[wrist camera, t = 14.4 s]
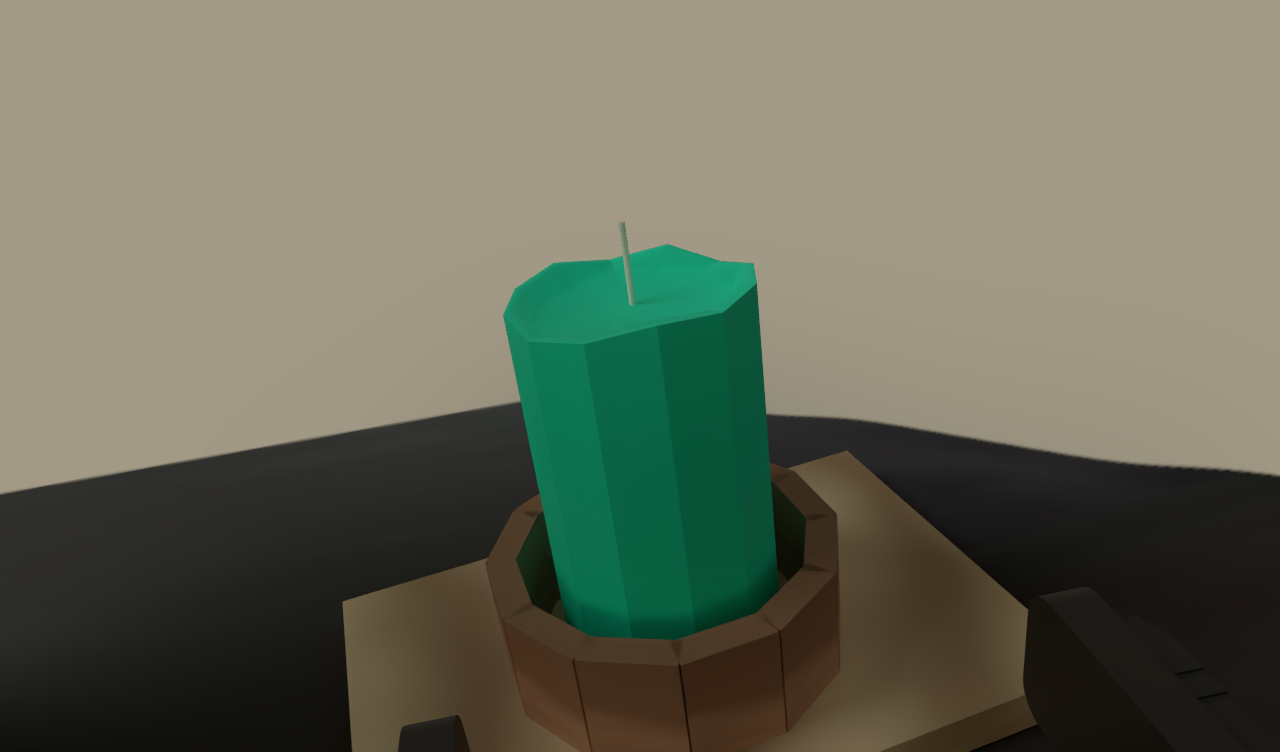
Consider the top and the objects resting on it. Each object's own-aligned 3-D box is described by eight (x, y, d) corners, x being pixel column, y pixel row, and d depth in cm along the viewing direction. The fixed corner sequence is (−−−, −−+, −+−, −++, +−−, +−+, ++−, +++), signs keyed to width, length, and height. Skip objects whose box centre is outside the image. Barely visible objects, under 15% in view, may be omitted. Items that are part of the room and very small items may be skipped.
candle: (817, 681, 24) (794, 234, 18) (589, 738, 23) (497, 290, 18) (747, 547, 29) (713, 171, 24) (559, 590, 28) (482, 211, 23)
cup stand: (379, 987, 19) (322, 847, 17) (352, 630, 30) (314, 518, 28) (1089, 703, 24) (1106, 565, 22) (847, 478, 34) (844, 371, 32)
